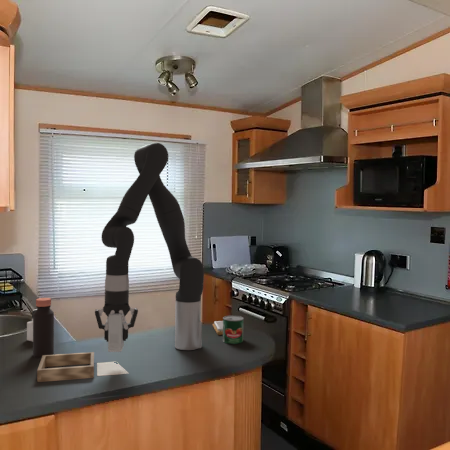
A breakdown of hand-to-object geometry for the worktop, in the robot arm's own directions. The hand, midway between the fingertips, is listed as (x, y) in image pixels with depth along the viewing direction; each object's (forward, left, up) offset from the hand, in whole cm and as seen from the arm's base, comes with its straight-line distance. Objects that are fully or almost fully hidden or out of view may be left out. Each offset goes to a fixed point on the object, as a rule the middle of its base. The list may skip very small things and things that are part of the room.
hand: (116, 340), depth 148 cm
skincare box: (0, 0, -3) cm, 3 cm away
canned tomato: (-44, -16, -10) cm, 48 cm away
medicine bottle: (+27, -40, -10) cm, 49 cm away
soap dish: (-46, -30, -10) cm, 56 cm away
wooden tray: (+15, 0, -9) cm, 18 cm away
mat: (0, 0, -9) cm, 9 cm away
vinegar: (+24, -19, -10) cm, 32 cm away
